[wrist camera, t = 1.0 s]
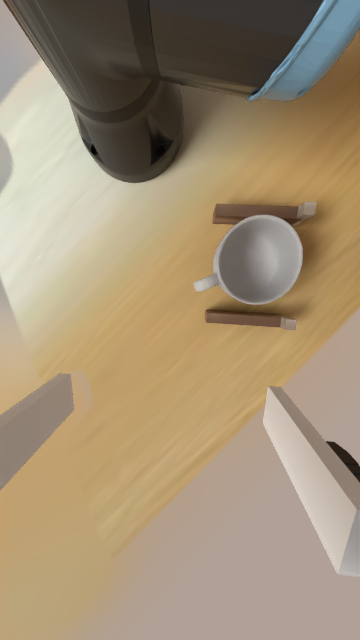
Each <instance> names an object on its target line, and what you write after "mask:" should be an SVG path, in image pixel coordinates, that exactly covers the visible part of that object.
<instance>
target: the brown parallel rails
mask: <svg viewBox="0 0 360 640" xmlns="http://www.w3.org/2000/svg"><path fill="white" fill-rule="evenodd" d="M316 205H317V202H304V203H303V204H302V205H300V206H299V207H291V206H263V205H235V204H216V207H215V210H214V213H213V224H235V225H236V224H237V223H239V222H240V221H242V220H244V219H245V218H248V217H251V216H255V215H272V216H276V217H279V218H281V219H283V220H284V221H286V222H287V223H289V224H290V225H291V226H292V227H295V226H297V225H298V224H300V223H302V222H303V221H305V220H307V219H309V218H310V217H312V216H314V215H315V211H316ZM205 320H206V322H207V323H222V324H237V325H253V326H268V327H281V328H283V329H286V330H296V324H297V320H296V319H292V318H289V317H286V316H283V315H274V314H258V313H242V312H225V311H209V310H206V313H205Z"/></svg>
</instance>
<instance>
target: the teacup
mask: <svg viewBox="0 0 360 640" xmlns="http://www.w3.org/2000/svg"><path fill="white" fill-rule="evenodd" d="M302 262H303V247H302V244H301V240H300V238H299V236H298V234H297V232H296V231H295V229H294V228H293V227H292V226H291V225H290V224H289V223H287V222H286V221H284V220H283V219H281V218H279V217H276V216H272V215H255V216H251V217H248V218H245V219H244V220H242V221H240V222H239V223H237V224H236V225H235V226H234V227H232V228H231V229H230V230H229V231H228V232H227V234H226V236H225V237H224V238H223V240H222V241H221V243H220V244H219V246H218V248H217V250H216V252H215V255H214V259H213V272H214V273H213V274H212V275H210V276H208V277H205V278H203V279H200V280H198V281H195V282H194V288H195V290H196V291H197V292H201V291H204V290H207V289H209V288H212V287H214V286H216V285H219V286H220V288H221V289H222V290H223V291H224V292H225V293H227V294H228V295H230V296H231V297H233V298H234V299H236V300H238V301H240V302H242V303H246V304H252V305H259V304H266V303H270V302H273V301H275V300H277V299H279V298H280V297H282V296H283V295H284V294H286V293H287V292H288V291H289V290H290V289H291V287H292V286H293V285H294V284H295V282H296V280H297V278H298V276H299V274H300V271H301V268H302Z"/></svg>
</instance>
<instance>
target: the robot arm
mask: <svg viewBox="0 0 360 640" xmlns="http://www.w3.org/2000/svg"><path fill="white" fill-rule="evenodd" d="M3 1H4V3H5V4H6V6H7V7H8V8H9V10H10V11H11V13H12V14H13V16H14V17H15V19H16V20H17V22H18V23H19V25H20V26H21V28H22V29H23V31H24V32H25V34H26V35H27V37H28V38H29V40H30V41H31V43H32V44H33V46H34V47H35V49H36V50H37V52H38V53H39V55H40V56H41V58H42V59H43V61H44V62H45V64H46V65H47V67H48V68H49V70H50V71H51V73H52V74H53V76H54V77H55V79H56V80H57V82H58V83H59V85H60V86H61V88H62V89H63V91H64V92H65V94H66V95H67V97H68V99H69V102H70V105H71V108H72V111H73V114H74V117H75V120H76V123H77V126H78V129H79V133H80V136H81V138H82V140H83V143H84V145H85V146H86V148H87V150H88V152H89V153H90V154H91V156H92V157H93V158H94V160H95V161H96V162H97V164H98V165H99V166H100V167H101V168H102V169H103V170H104V171H105V172H106V173H107V174H109V175H110V176H112V177H114V178H116V179H118V180H121V181H124V182H131V183H137V182H144V181H147V180H150V179H152V178H154V177H156V176H158V175H159V174H160V173H162V172H163V171H164V170H165V169H166V168H167V167H168V166H169V165H170V164H171V162H172V161H173V159H174V158H175V156H176V154H177V152H178V150H179V147H180V144H181V140H182V136H183V105H182V99H181V94H180V90H179V87H178V84H181V85H186V86H192V87H197V88H202V89H207V90H212V91H217V92H221V93H226V94H231V95H236V96H241V97H245V98H246V99H247V101H255V100H257V99H267V100H276V101H292V100H295V99H297V98H299V97H301V96H302V95H304V94H305V93H306V92H308V91H309V90H310V89H311V88H312V87H313V86H314V85H315V84H316V83H318V82H319V81H320V79H322V78H323V77H324V76H325V74H326V73H327V72H328V71H329V70H330V69H331V67H332V66H333V65H334V64H335V62H336V61H337V60H338V59H339V57H340V56H341V55H342V53H343V52H344V51H345V49H346V48H347V46H348V45H349V44H350V42H351V41H352V39H353V38H354V37H355V35H356V34H357V32H358V31H359V29H360V0H3ZM73 410H74V403H73V393H72V382H71V374H61V373H60V374H58V375H57V376H55V377H54V378H53V379H51V380H50V381H48V382H47V383H45V384H44V385H43V386H41V387H40V388H39V389H37V390H36V391H34V392H33V393H31V394H30V395H28V396H27V397H26V398H24V399H23V400H22V401H20V402H19V403H17V404H16V405H14V406H13V407H11V408H10V409H9V410H7V411H6V412H4V413H3V414H1V415H0V490H1V489H2V488H3V487H4V486H5V485H6V484H7V483H8V482H9V481H10V479H11V478H12V477H13V476H14V475H15V474H16V473H17V472H18V471H19V470H20V468H21V467H22V466H23V465H24V464H25V463H26V462H27V461H28V460H29V459H30V458H31V456H32V455H33V454H34V453H35V452H36V451H37V450H38V449H39V448H40V447H41V445H42V444H43V443H44V442H45V441H46V440H47V439H48V438H49V437H50V436H51V435H52V433H53V432H54V431H55V430H56V429H57V428H58V427H59V426H60V425H61V424H62V422H63V421H64V420H65V419H66V418H67V417H68V416H69V415H70V414H71V413H72V412H73ZM263 424H264V426H265V428H266V430H267V433H268V435H269V437H270V438H271V440H272V443H273V445H274V447H275V448H276V451H277V453H278V455H279V457H280V459H281V461H282V463H283V465H284V467H285V469H286V471H287V473H288V475H289V477H290V479H291V481H292V483H293V485H294V487H295V489H296V491H297V493H298V495H299V497H300V499H301V501H302V503H303V505H304V507H305V509H306V511H307V513H308V515H309V517H310V519H311V521H312V523H313V525H314V527H315V529H316V532H317V534H318V535H319V537H320V540H321V542H322V544H323V546H324V548H325V550H326V552H327V554H328V556H329V558H330V560H331V562H332V564H333V566H334V568H335V570H336V572H337V574H340V575H348V576H357V577H360V466H359V465H358V463H357V462H356V461H355V460H354V458H352V456H351V455H350V454H349V453H348V452H347V451H346V450H344V449H343V448H342V447H340V446H339V445H338V444H336V443H335V442H328V441H325V440H324V439H323V438H322V436H321V435H320V434H319V433H318V432H317V430H316V429H315V428H314V427H313V426H312V425H311V423H310V422H309V421H308V420H307V419H306V417H305V416H304V415H303V414H302V412H301V411H300V410H299V409H298V407H297V406H296V405H295V404H294V403H293V401H292V400H291V399H290V398H289V397H288V396H287V394H286V393H285V392H284V391H283V389H282V388H281V387H273V386H268V391H267V398H266V405H265V413H264V419H263Z"/></svg>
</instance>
